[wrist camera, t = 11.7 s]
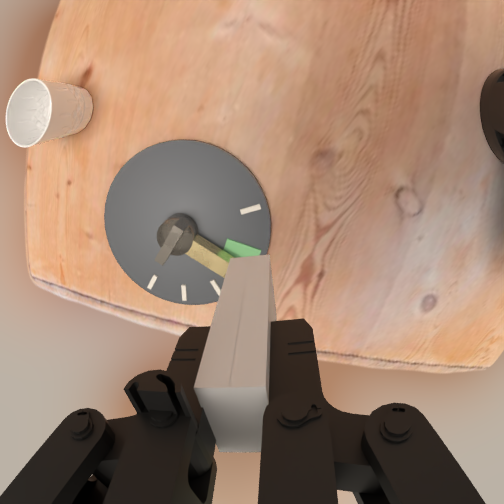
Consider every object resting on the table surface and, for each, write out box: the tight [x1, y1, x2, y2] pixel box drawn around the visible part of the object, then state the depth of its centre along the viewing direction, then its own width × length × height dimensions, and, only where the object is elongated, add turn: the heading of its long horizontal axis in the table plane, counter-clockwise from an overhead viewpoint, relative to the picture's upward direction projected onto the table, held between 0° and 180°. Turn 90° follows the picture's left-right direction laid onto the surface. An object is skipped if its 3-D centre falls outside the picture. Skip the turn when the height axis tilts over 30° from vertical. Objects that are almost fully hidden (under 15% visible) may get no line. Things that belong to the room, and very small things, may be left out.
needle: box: [155, 213, 235, 278], centre depth 37 cm, size 13×5×5 cm, turn 56°
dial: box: [104, 140, 270, 305], centre depth 39 cm, size 22×22×2 cm
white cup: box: [6, 79, 93, 147], centre depth 29 cm, size 8×8×10 cm
